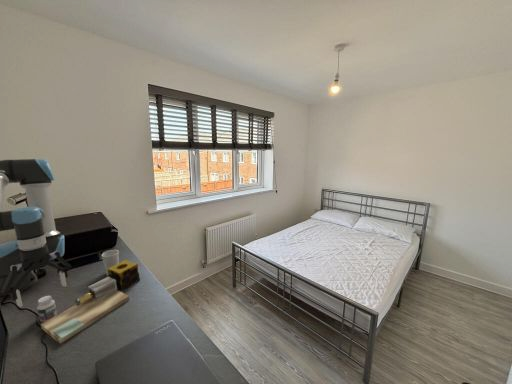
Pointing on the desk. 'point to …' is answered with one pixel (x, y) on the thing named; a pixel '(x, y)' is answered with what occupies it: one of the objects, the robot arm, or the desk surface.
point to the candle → (124, 274)
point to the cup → (110, 259)
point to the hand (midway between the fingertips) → (43, 294)
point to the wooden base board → (86, 311)
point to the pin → (84, 298)
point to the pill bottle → (46, 308)
